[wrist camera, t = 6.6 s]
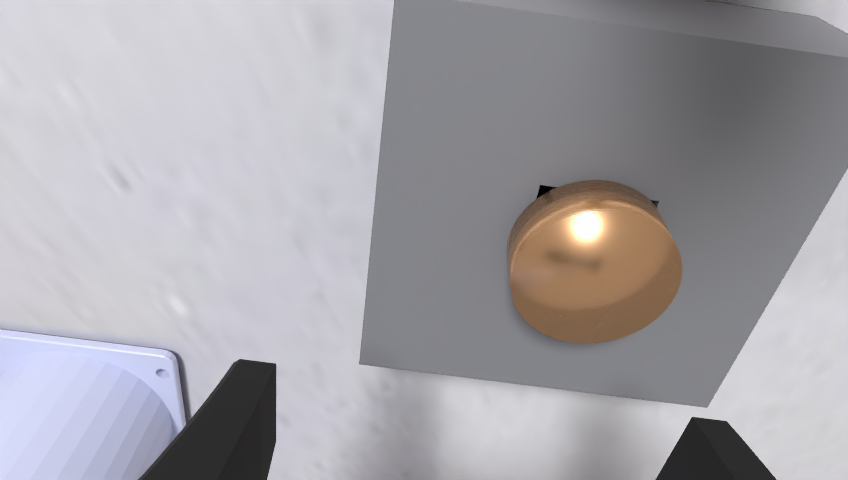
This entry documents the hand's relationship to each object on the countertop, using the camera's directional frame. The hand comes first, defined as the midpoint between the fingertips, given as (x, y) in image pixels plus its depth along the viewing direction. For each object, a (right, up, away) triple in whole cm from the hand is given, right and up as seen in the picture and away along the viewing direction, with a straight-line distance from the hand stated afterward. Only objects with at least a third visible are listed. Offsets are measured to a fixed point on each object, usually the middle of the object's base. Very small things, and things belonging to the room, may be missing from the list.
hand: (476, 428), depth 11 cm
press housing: (+3, +6, +9) cm, 11 cm away
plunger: (+3, +6, +9) cm, 11 cm away
